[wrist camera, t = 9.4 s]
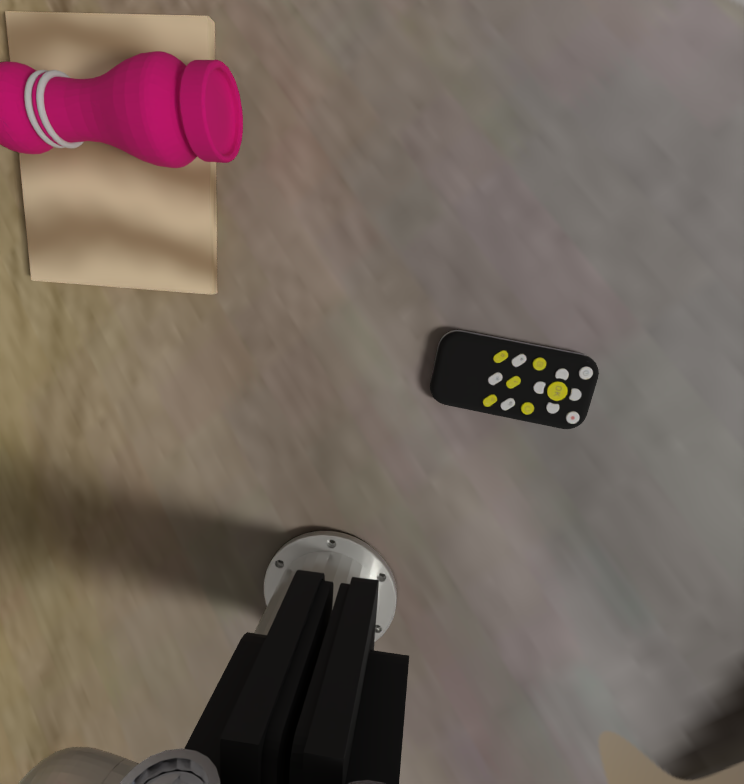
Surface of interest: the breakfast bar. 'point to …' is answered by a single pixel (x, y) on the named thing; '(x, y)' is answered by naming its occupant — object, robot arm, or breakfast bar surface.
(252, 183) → the breakfast bar surface
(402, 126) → the breakfast bar surface
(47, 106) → the pepper mill
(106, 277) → the cutting board
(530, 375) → the remote control
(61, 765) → the robot arm
